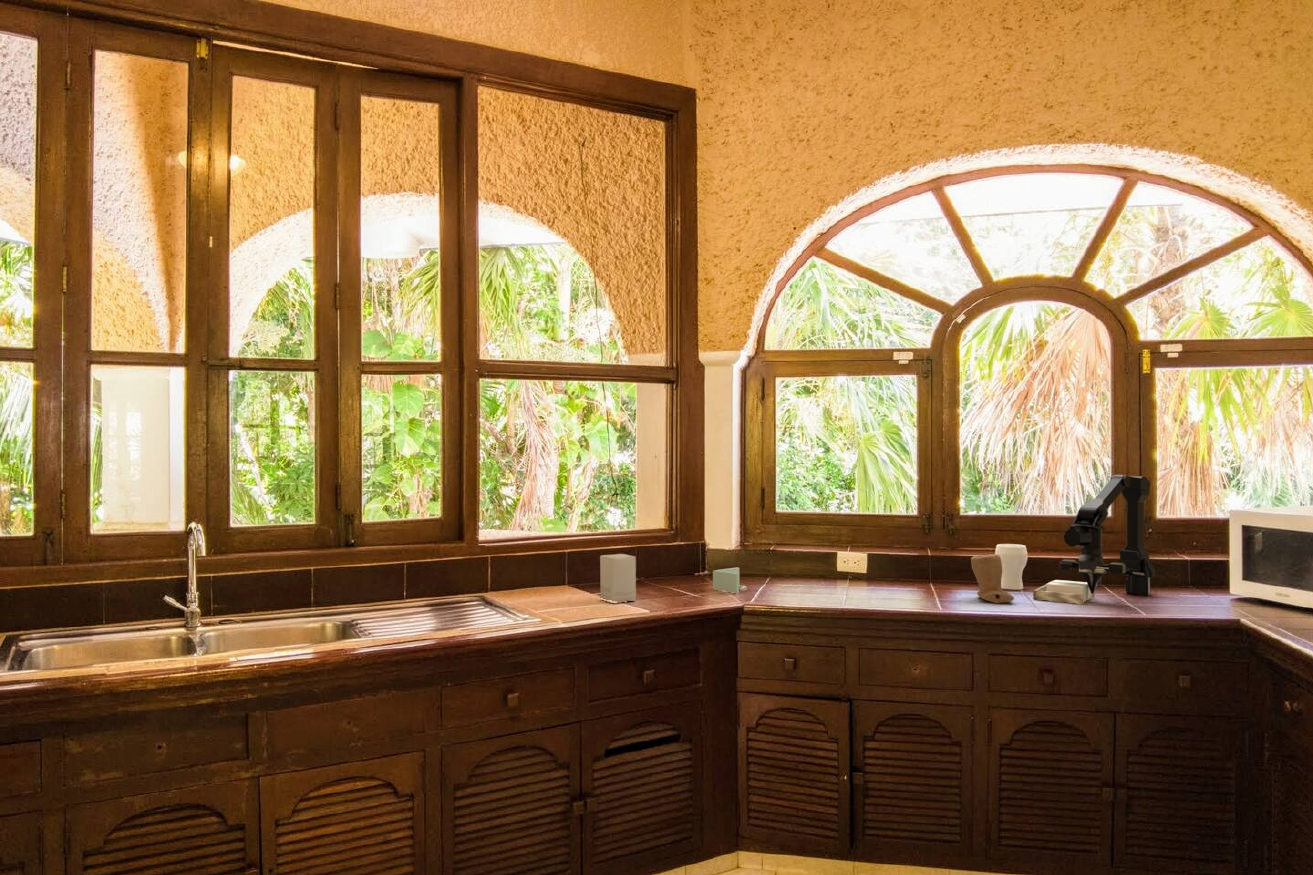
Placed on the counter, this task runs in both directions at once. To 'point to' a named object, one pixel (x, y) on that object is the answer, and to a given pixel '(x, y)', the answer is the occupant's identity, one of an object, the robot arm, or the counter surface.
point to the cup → (1012, 564)
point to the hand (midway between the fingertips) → (1092, 593)
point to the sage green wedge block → (727, 580)
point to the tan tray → (1057, 596)
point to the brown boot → (990, 578)
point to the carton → (1070, 588)
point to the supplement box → (618, 577)
